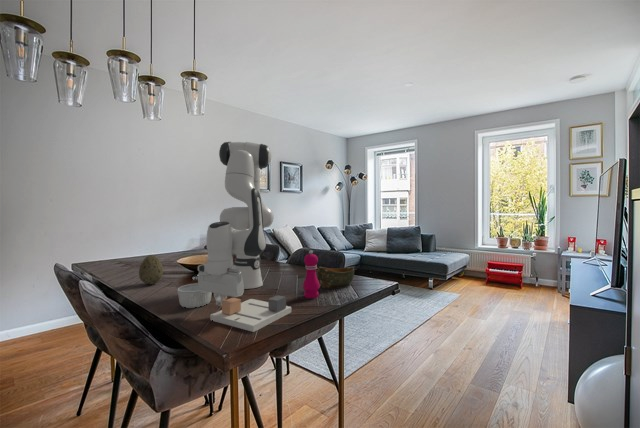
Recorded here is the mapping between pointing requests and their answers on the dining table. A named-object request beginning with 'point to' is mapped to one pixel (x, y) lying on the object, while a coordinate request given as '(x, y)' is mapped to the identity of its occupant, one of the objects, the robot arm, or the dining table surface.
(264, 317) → the fader panel
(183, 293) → the ramekin
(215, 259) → the robot arm
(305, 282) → the pepper mill
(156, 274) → the decorative egg
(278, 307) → the block
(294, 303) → the dining table surface
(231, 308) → the block
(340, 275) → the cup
